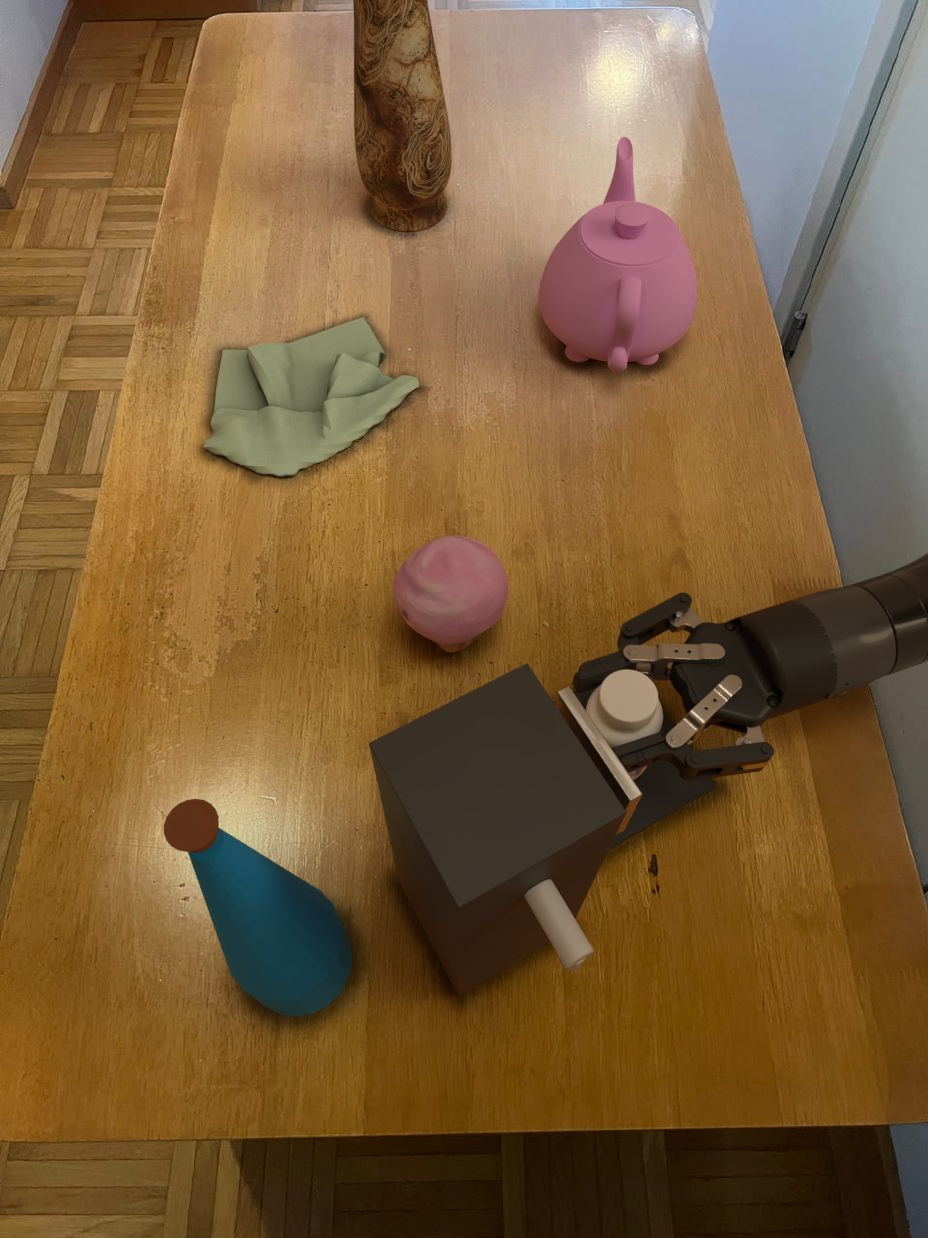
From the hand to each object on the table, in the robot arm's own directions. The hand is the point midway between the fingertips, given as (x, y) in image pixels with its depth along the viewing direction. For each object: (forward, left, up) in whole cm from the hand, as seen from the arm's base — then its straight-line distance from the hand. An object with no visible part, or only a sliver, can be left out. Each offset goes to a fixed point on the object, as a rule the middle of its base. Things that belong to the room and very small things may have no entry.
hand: (592, 720), depth 64 cm
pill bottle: (-1, -3, -8) cm, 8 cm away
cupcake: (+16, +3, -9) cm, 18 cm away
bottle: (-2, +25, -9) cm, 26 cm away
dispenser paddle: (-5, +5, +8) cm, 11 cm away
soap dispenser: (-7, +12, -9) cm, 17 cm away
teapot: (+40, -29, -9) cm, 50 cm away
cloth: (+46, +2, -9) cm, 47 cm away
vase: (+67, -19, -9) cm, 70 cm away
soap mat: (0, -2, -9) cm, 9 cm away
